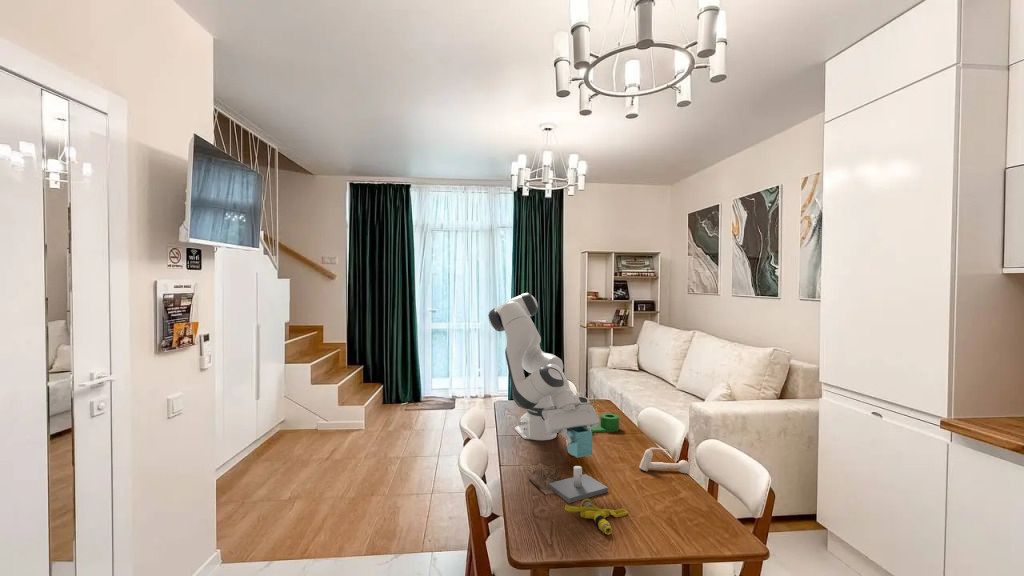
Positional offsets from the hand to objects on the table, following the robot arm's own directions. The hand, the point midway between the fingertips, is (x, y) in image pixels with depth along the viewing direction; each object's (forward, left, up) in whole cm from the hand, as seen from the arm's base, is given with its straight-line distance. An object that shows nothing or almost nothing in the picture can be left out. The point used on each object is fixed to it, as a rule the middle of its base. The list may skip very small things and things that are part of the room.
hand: (580, 441), depth 144 cm
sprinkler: (+18, -7, -17) cm, 26 cm away
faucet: (+2, +37, -17) cm, 41 cm away
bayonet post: (-1, -1, -17) cm, 17 cm away
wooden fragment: (-14, -6, -17) cm, 23 cm away
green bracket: (-47, +48, -17) cm, 69 cm away
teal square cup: (-1, 0, -4) cm, 4 cm away
